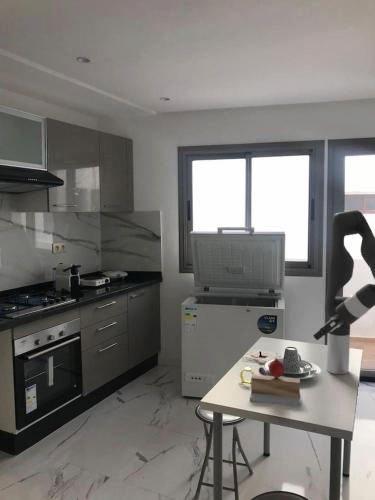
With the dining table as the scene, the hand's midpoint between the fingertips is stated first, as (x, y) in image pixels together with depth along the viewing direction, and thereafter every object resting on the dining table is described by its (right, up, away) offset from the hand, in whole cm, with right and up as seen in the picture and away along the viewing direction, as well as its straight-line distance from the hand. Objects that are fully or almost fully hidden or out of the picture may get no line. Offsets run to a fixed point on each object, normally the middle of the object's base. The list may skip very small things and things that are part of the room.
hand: (319, 334), depth 156 cm
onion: (-14, -18, +8) cm, 24 cm away
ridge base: (-14, -25, +8) cm, 30 cm away
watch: (-23, -24, +22) cm, 40 cm away
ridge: (-14, -24, +8) cm, 29 cm away
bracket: (-14, -24, +27) cm, 39 cm away
